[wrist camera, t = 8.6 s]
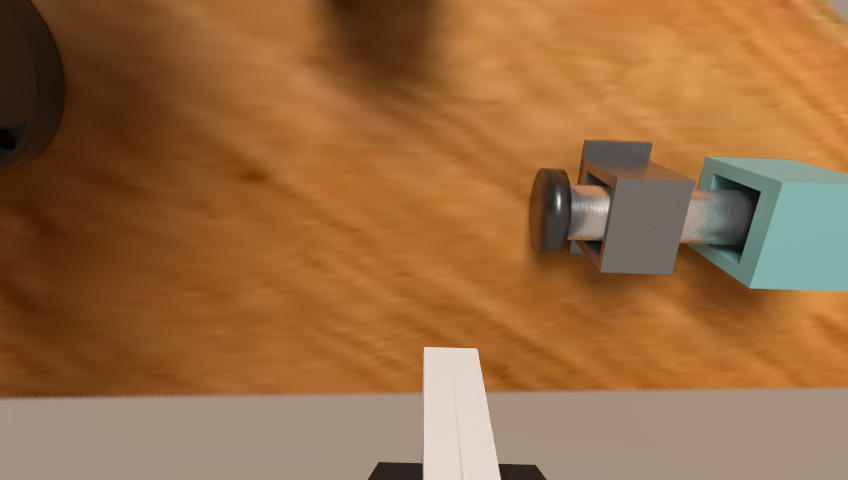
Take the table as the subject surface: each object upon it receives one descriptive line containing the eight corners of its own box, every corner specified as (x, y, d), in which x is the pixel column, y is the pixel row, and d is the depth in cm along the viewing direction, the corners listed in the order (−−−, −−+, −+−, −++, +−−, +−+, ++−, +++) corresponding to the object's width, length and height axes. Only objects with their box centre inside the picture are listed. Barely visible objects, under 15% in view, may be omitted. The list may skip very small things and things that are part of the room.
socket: (684, 243, 35) (749, 288, 28) (706, 156, 33) (783, 182, 26) (762, 245, 35) (847, 291, 28) (789, 159, 33) (889, 185, 26)
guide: (567, 250, 35) (597, 289, 29) (584, 139, 32) (621, 157, 26) (625, 252, 35) (667, 291, 29) (648, 141, 32) (700, 160, 26)
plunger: (526, 236, 34) (544, 267, 29) (535, 160, 32) (556, 179, 27) (750, 243, 34) (809, 276, 29) (773, 168, 32) (840, 188, 27)
